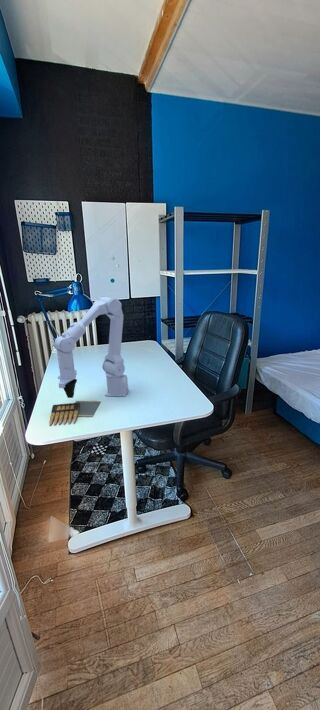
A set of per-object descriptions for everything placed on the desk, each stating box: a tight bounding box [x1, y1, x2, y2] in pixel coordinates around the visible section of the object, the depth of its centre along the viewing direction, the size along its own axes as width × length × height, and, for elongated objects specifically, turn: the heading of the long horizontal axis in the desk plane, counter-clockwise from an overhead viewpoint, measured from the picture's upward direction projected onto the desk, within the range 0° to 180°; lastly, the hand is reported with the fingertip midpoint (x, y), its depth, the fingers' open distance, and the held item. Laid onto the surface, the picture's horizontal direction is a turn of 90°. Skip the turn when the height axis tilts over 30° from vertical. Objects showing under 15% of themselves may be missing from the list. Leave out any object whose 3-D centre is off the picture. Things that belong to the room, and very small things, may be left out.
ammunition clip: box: [48, 402, 80, 426], centre depth 117 cm, size 11×2×12 cm
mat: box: [68, 400, 101, 418], centre depth 124 cm, size 11×13×1 cm
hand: (70, 397), depth 122 cm, fingers closed
